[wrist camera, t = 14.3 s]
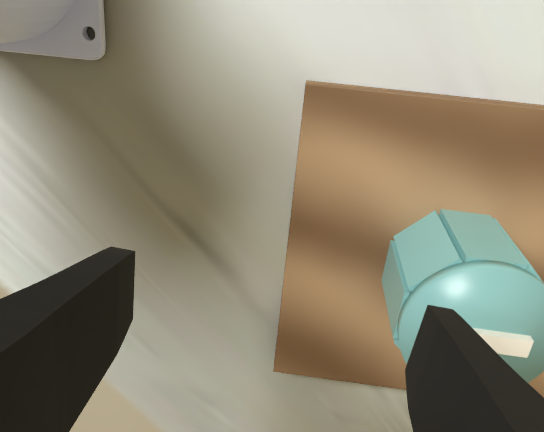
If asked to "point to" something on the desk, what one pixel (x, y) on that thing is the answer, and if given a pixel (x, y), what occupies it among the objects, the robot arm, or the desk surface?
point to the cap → (467, 285)
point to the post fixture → (392, 211)
